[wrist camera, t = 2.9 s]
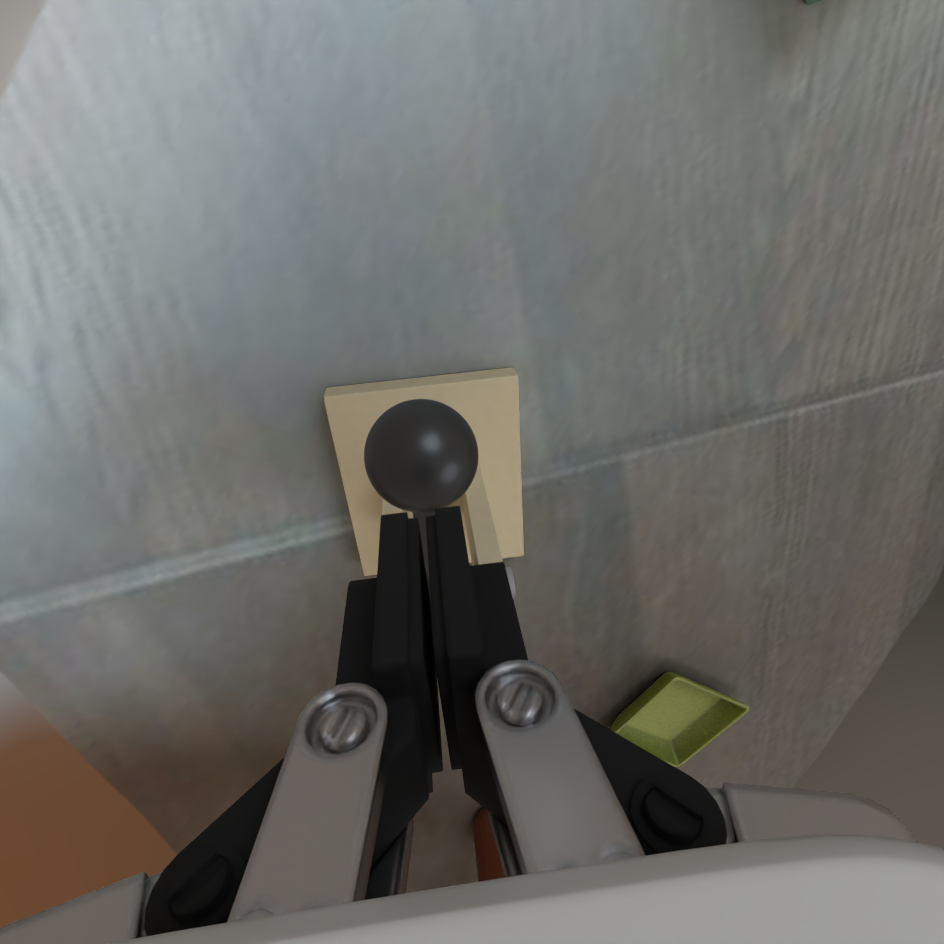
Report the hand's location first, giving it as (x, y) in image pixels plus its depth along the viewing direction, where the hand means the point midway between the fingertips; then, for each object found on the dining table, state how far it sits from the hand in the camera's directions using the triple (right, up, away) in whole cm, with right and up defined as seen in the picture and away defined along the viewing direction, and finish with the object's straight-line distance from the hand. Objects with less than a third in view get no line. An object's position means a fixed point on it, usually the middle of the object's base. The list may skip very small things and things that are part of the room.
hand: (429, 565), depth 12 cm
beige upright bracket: (-1, +2, +21) cm, 21 cm away
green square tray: (+17, -17, +34) cm, 42 cm away
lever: (-1, +1, +9) cm, 9 cm away
